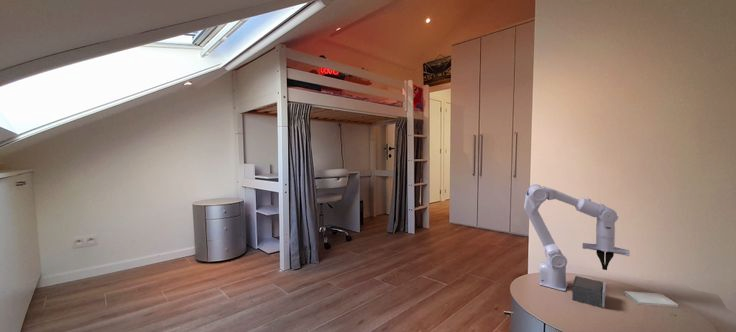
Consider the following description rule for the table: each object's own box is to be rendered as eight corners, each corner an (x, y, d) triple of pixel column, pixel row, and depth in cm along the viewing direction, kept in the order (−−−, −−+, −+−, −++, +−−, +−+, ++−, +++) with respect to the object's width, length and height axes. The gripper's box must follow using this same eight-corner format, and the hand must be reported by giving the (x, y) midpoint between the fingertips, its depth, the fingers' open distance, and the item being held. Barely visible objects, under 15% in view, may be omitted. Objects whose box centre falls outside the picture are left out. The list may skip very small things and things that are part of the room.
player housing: (572, 299, 110) (572, 284, 110) (575, 290, 117) (575, 275, 117) (601, 307, 104) (601, 291, 104) (602, 297, 111) (602, 282, 111)
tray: (575, 300, 110) (575, 285, 109) (578, 290, 117) (578, 276, 116) (604, 307, 104) (604, 292, 103) (605, 297, 111) (605, 282, 110)
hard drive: (638, 301, 106) (678, 304, 103) (623, 290, 114) (660, 292, 111) (638, 306, 106) (678, 308, 103) (623, 294, 114) (660, 296, 111)
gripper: (581, 235, 116) (581, 267, 117) (629, 242, 106) (629, 277, 107) (583, 231, 121) (583, 262, 122) (629, 237, 112) (628, 271, 112)
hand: (604, 269), depth 115 cm, fingers closed
